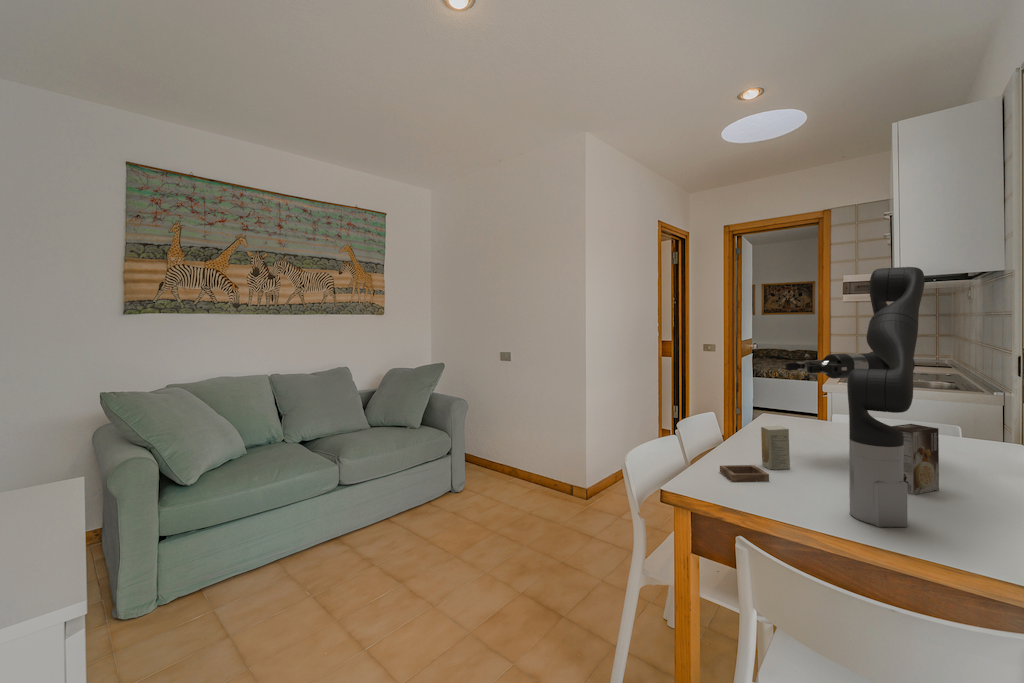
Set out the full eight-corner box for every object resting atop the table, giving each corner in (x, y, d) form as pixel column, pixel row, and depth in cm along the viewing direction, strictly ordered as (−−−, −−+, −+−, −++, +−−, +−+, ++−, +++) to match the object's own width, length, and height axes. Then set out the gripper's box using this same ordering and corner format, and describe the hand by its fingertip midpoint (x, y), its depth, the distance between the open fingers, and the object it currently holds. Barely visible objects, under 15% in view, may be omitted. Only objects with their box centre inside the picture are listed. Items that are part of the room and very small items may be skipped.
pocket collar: (769, 481, 120) (769, 474, 120) (732, 481, 120) (732, 474, 120) (754, 471, 128) (754, 465, 128) (719, 472, 128) (719, 465, 128)
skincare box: (782, 464, 133) (781, 425, 133) (790, 469, 129) (790, 428, 129) (760, 465, 134) (760, 425, 133) (768, 469, 129) (768, 429, 129)
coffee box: (910, 482, 116) (911, 423, 116) (939, 490, 110) (940, 428, 110) (885, 486, 114) (885, 426, 113) (914, 495, 108) (914, 431, 107)
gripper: (825, 352, 140) (779, 354, 138) (866, 354, 125) (816, 357, 124) (825, 375, 140) (779, 377, 138) (866, 380, 126) (816, 383, 124)
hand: (796, 367), depth 131 cm, fingers open, 8 cm apart
